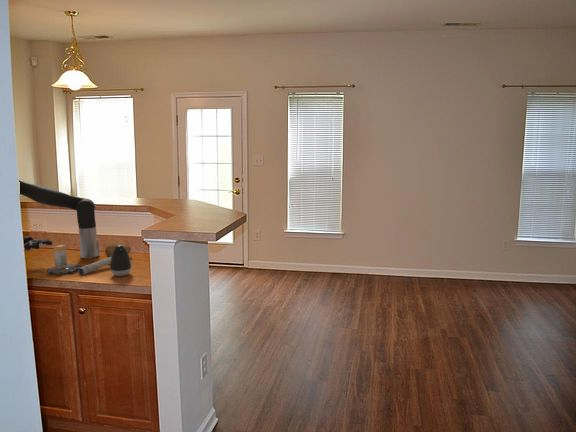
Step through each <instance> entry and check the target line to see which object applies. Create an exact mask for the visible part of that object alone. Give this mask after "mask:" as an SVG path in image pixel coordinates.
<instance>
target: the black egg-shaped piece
mask: <svg viewBox="0 0 576 432" xmlns="http://www.w3.org/2000/svg"><path fill="white" fill-rule="evenodd" d="M129 254H130V253H129ZM129 254H128V252H127V250H126V248H125V247H124V246H121V245H119V246H116V247H115V249H114V250H113V253H112V257H111V262H110V265H109V270H111V273H112V275H114V276H116V277H125V276H127V275H129V274H130V272H131V269H132V261H131V258H130V255H129Z"/></svg>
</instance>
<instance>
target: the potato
mask: <svg viewBox="0 0 576 432" xmlns="http://www.w3.org/2000/svg"><path fill="white" fill-rule="evenodd" d="M119 245H121V246H124V247H125V248H126V250H127V252H128V254H130V253H131V251H132V249H131V246H130V245H129V244H126V243H112V244H108V245H106V247H105V256H106V257H107V258H109V257H112V253H113V250H114V249H115V247H116V246H119Z"/></svg>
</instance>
